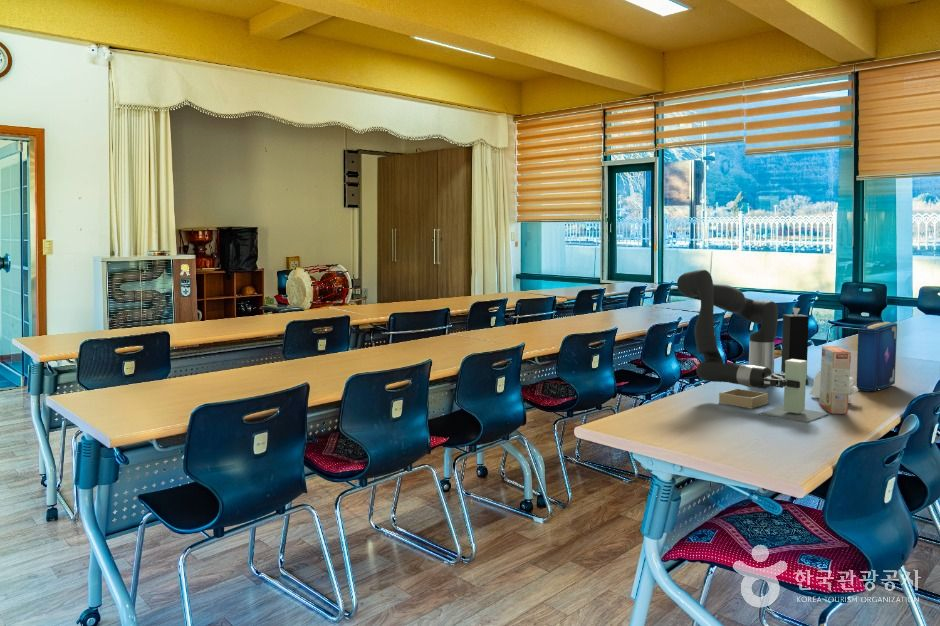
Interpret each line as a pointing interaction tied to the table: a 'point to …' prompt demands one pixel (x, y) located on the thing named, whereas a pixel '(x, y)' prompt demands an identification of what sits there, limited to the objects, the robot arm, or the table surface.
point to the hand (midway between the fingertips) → (803, 383)
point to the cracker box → (835, 379)
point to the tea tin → (795, 396)
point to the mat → (794, 414)
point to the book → (876, 356)
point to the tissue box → (794, 337)
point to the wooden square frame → (743, 398)
